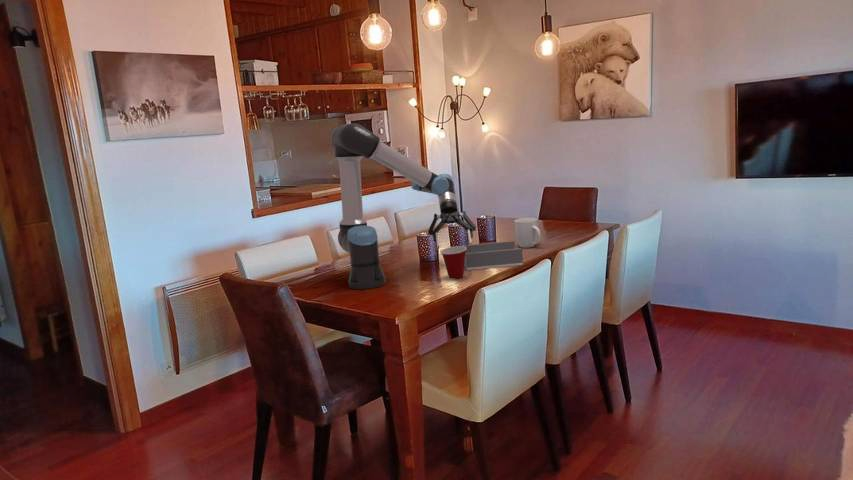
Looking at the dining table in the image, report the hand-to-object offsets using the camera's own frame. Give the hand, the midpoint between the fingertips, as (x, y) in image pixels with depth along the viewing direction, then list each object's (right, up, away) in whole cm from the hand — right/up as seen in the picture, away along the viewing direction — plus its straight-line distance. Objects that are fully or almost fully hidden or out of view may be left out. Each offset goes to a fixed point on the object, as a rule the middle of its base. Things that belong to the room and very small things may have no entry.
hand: (454, 245), depth 244 cm
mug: (+38, -1, +39) cm, 55 cm away
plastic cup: (0, -13, -5) cm, 14 cm away
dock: (+17, -8, +14) cm, 23 cm away
